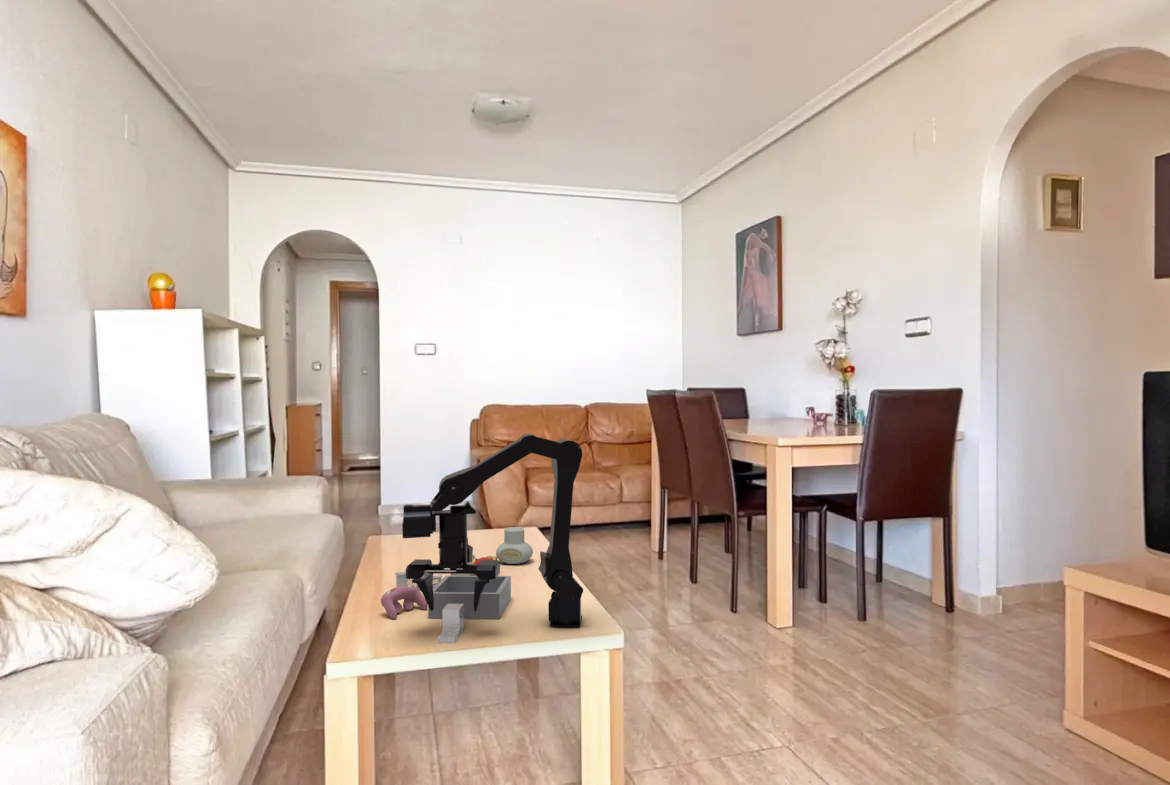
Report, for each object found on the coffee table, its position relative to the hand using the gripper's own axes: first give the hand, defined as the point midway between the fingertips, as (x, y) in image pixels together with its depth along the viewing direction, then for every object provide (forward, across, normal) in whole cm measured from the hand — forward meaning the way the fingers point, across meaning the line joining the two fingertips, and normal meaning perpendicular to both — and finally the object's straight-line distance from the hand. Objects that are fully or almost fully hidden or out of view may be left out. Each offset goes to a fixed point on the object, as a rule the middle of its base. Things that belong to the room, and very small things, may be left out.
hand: (453, 610), depth 140 cm
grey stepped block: (+5, 0, +2) cm, 5 cm away
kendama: (+5, +3, -47) cm, 48 cm away
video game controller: (+5, +15, -13) cm, 20 cm away
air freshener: (+5, -3, -60) cm, 60 cm away
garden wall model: (+5, +17, -31) cm, 36 cm away
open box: (+5, 0, -16) cm, 17 cm away
